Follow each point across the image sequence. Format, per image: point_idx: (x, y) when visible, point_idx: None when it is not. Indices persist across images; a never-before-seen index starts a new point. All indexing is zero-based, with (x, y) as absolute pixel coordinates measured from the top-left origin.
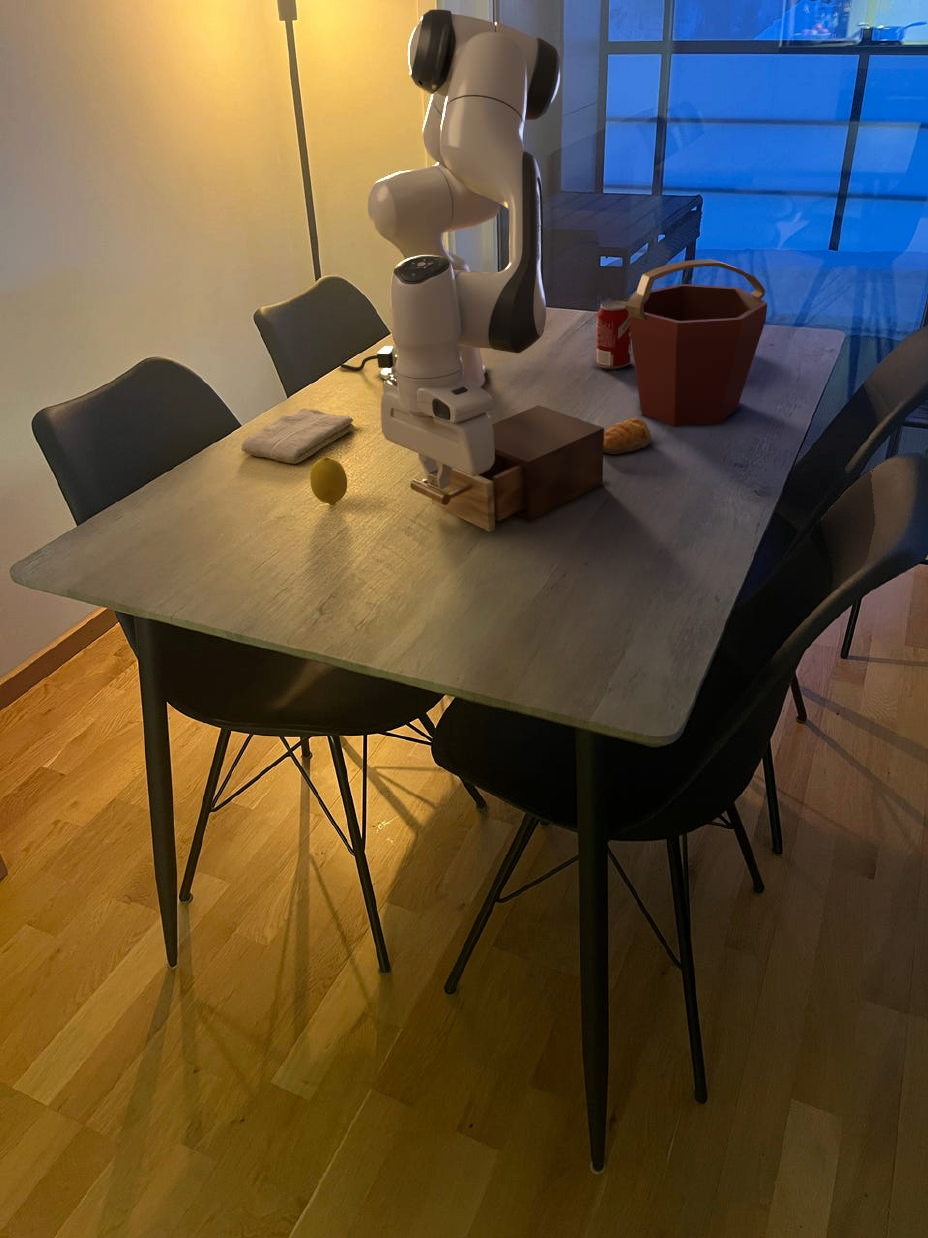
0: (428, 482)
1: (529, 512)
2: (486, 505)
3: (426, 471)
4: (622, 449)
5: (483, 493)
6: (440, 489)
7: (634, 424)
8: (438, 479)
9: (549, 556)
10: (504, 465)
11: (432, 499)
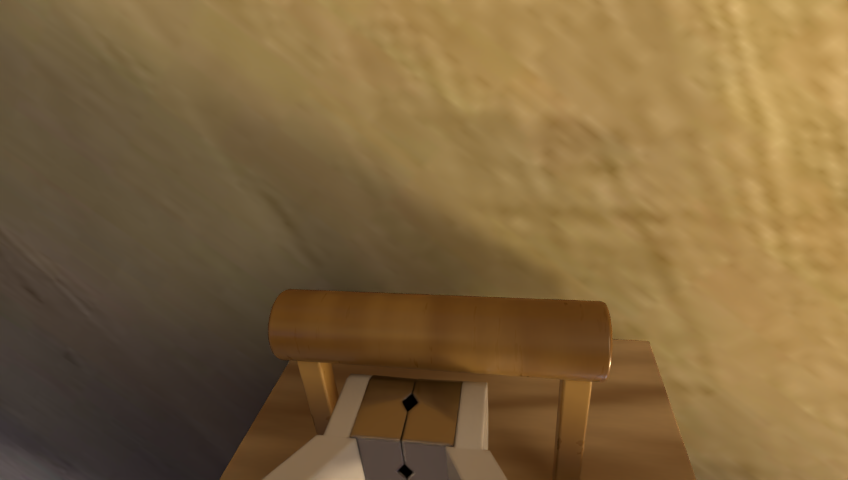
0: (469, 384)
1: None
2: (272, 402)
3: (472, 456)
4: None
5: (262, 448)
6: (590, 406)
7: None
8: (338, 423)
9: (136, 333)
10: None
11: (648, 355)
